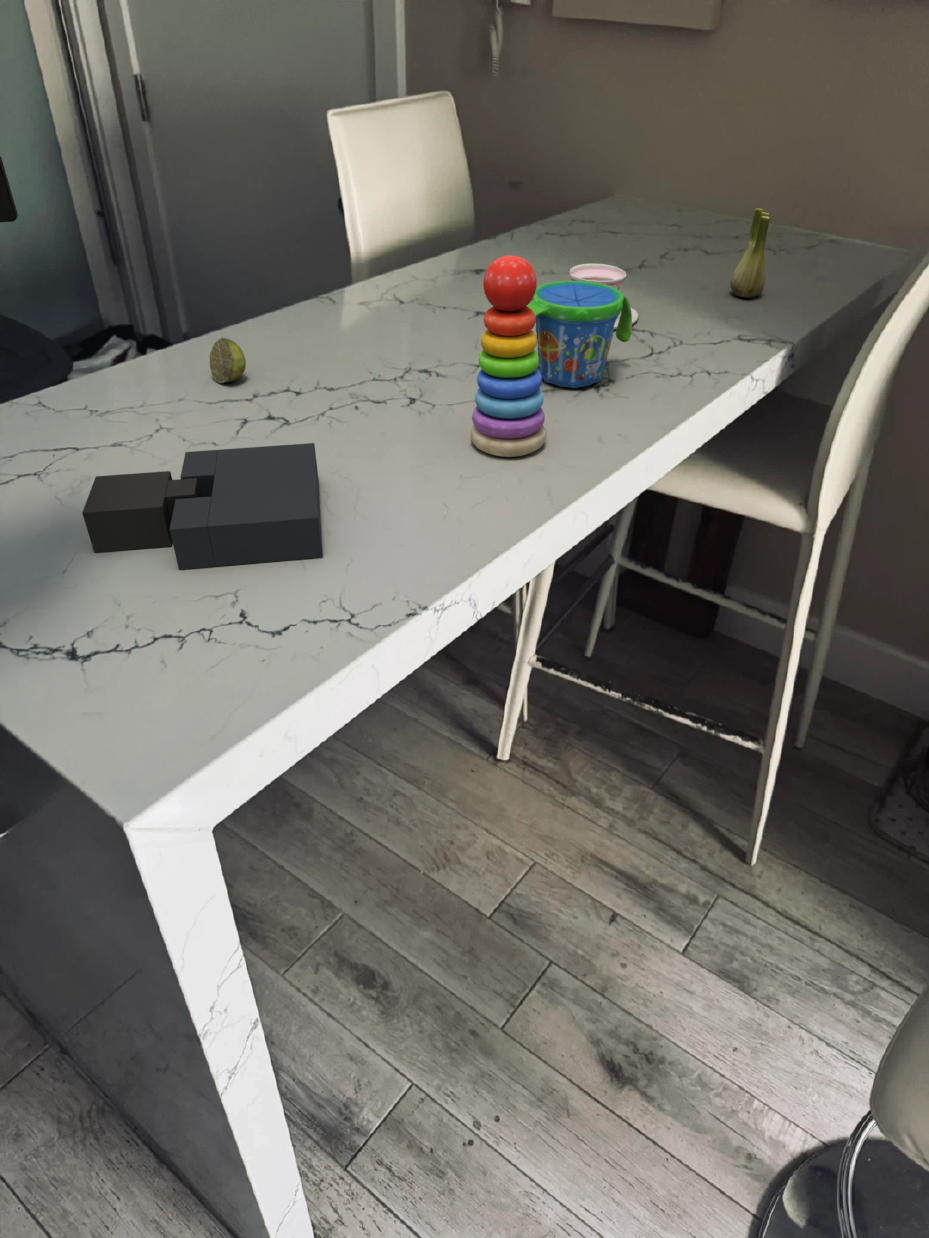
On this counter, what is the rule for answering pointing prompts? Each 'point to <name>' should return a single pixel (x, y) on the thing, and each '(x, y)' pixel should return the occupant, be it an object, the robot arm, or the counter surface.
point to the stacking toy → (509, 365)
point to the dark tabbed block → (134, 510)
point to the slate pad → (249, 507)
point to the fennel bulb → (752, 260)
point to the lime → (226, 361)
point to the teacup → (601, 279)
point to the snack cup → (577, 329)
